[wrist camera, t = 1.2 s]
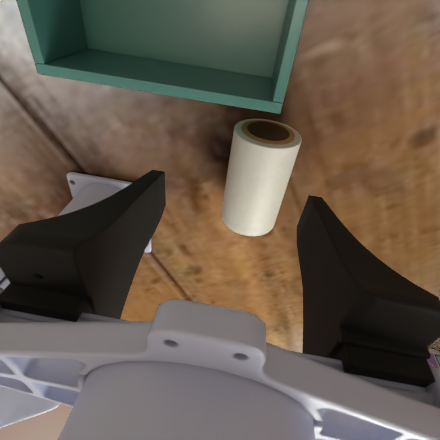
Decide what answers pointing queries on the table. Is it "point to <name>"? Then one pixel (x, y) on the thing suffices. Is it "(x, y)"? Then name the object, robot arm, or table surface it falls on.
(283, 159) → the paper roll
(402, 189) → the table surface
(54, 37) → the open storage box
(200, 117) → the table surface
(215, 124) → the table surface
